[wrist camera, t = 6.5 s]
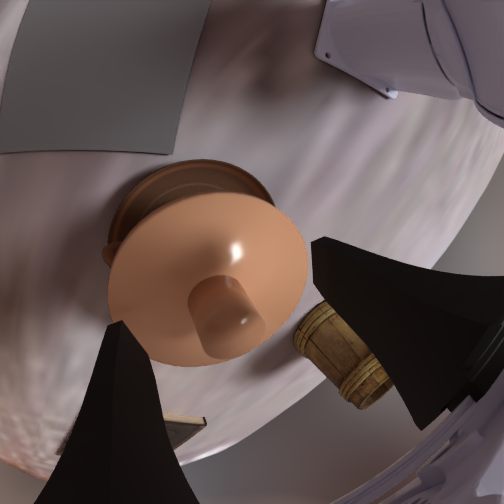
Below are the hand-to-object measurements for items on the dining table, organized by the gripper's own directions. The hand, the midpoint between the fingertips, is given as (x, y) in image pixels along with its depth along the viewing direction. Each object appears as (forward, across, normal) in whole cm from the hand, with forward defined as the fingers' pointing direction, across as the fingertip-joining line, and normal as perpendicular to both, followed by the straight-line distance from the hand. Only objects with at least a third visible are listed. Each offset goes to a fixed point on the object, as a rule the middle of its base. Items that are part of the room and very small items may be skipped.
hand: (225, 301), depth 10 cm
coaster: (+10, +2, -11) cm, 15 cm away
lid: (+4, 0, +3) cm, 5 cm away
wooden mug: (+11, -13, +19) cm, 26 cm away
